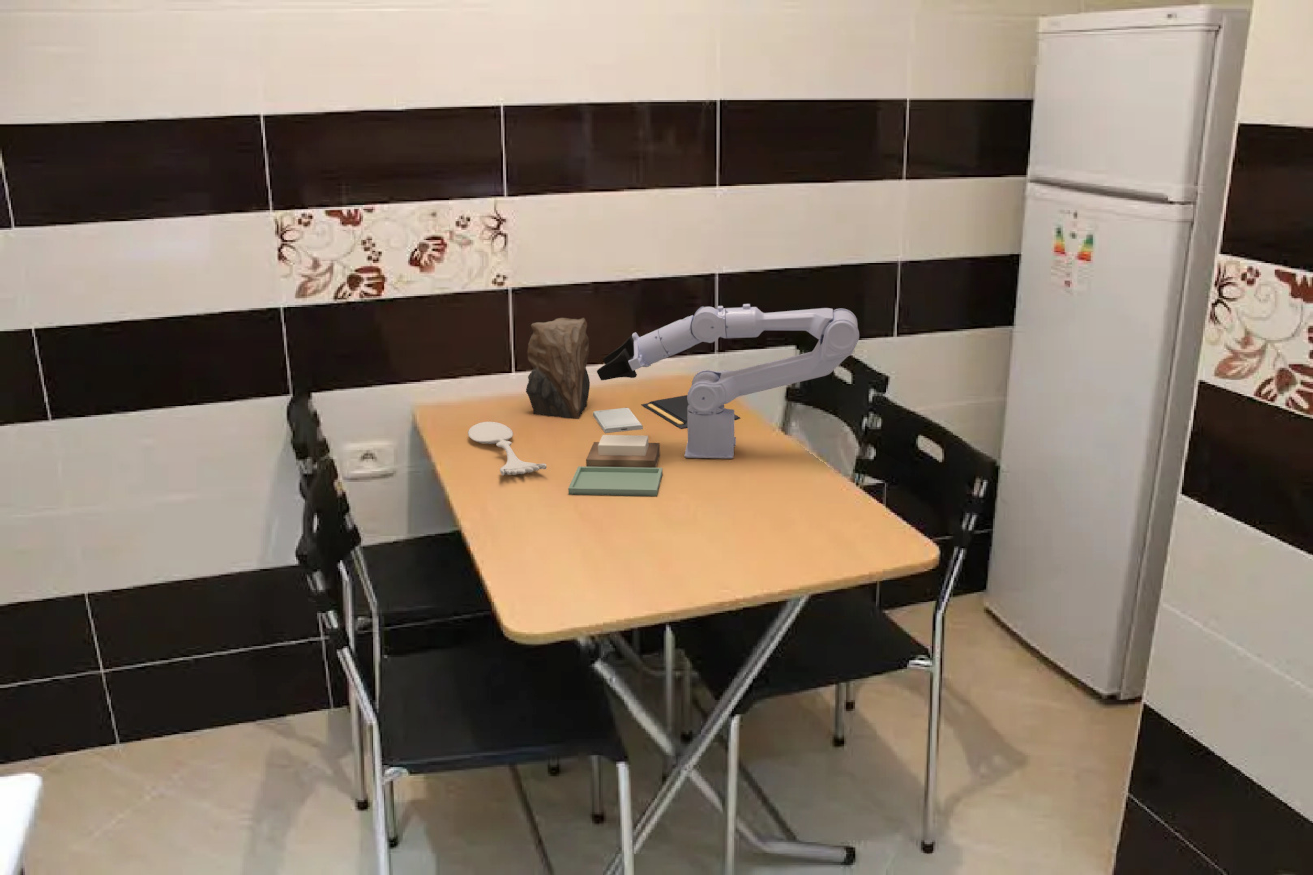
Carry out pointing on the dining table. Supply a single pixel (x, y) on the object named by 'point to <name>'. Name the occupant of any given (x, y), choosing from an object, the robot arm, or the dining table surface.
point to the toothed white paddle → (502, 446)
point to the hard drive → (617, 420)
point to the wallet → (672, 410)
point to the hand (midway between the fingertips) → (602, 369)
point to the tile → (623, 445)
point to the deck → (624, 458)
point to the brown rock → (559, 368)
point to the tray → (616, 481)
